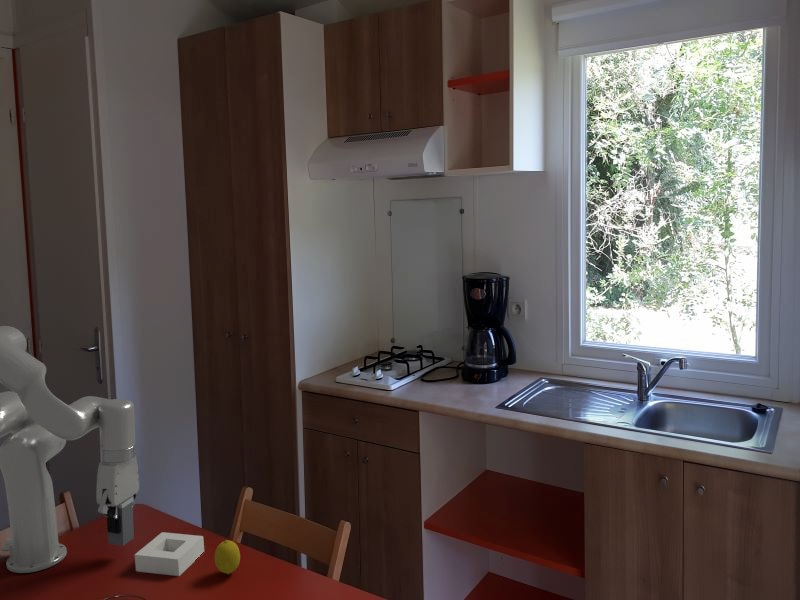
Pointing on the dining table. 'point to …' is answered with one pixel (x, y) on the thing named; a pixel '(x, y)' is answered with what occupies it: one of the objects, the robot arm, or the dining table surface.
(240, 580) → the dining table surface
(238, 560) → the lemon
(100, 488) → the robot arm
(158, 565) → the socket
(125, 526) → the plug
